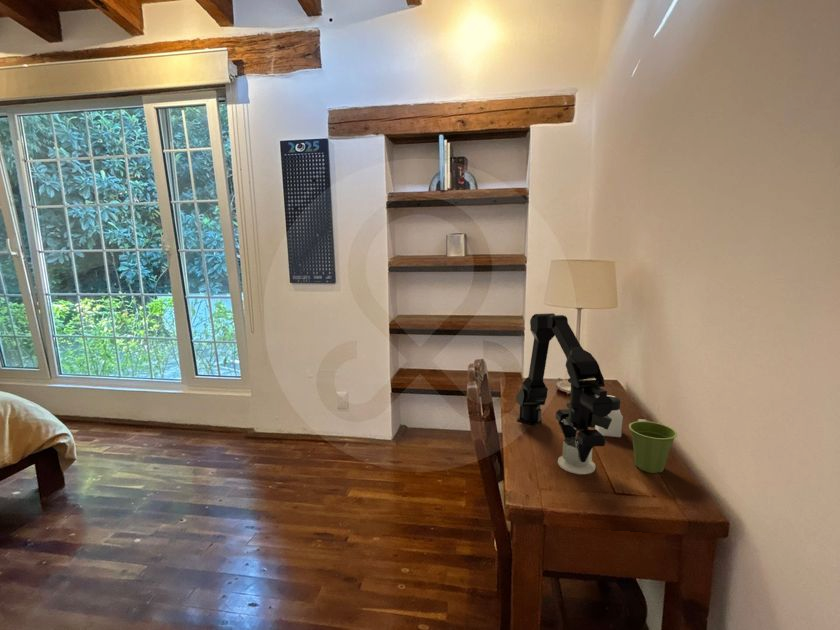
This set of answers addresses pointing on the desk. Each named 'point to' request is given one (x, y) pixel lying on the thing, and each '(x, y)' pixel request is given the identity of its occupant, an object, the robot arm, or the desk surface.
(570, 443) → the ring
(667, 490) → the desk surface
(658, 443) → the plant pot
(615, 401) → the medicine bottle
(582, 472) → the hub post
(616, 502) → the desk surface
